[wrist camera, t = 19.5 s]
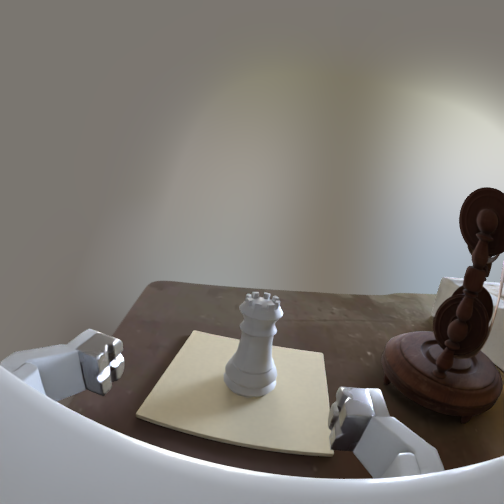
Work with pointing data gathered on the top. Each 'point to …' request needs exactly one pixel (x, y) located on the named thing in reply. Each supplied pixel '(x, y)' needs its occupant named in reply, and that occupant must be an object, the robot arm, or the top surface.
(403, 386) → the scroll
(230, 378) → the rook chess piece
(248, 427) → the linen mat
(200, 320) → the top surface
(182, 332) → the top surface
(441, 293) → the box
